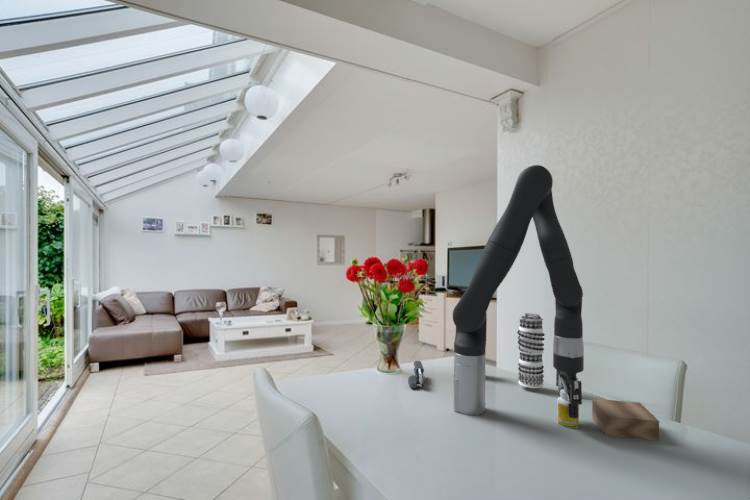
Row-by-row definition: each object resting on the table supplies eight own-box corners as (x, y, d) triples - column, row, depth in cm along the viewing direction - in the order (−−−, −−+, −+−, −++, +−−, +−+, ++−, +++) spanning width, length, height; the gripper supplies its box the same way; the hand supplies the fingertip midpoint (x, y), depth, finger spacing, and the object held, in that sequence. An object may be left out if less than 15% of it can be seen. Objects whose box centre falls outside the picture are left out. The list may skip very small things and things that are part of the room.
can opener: (426, 389, 137) (426, 374, 137) (407, 388, 138) (407, 374, 138) (424, 371, 156) (424, 359, 156) (408, 371, 157) (408, 358, 157)
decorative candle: (516, 386, 139) (516, 315, 139) (517, 378, 148) (517, 311, 148) (544, 390, 136) (545, 317, 136) (544, 381, 145) (544, 313, 144)
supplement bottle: (554, 420, 112) (555, 387, 112) (575, 422, 111) (575, 388, 111) (560, 429, 107) (560, 394, 107) (581, 431, 106) (581, 395, 106)
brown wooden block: (605, 439, 102) (605, 416, 102) (592, 419, 114) (592, 398, 114) (658, 444, 99) (659, 421, 99) (639, 423, 111) (639, 402, 111)
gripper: (547, 345, 116) (546, 400, 117) (561, 358, 102) (561, 421, 102) (574, 346, 115) (574, 401, 115) (592, 360, 101) (592, 423, 101)
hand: (568, 410), depth 109 cm, fingers open, 8 cm apart
